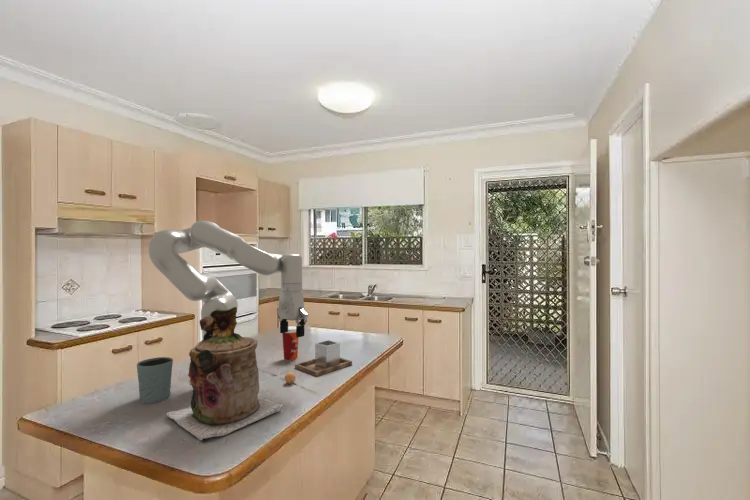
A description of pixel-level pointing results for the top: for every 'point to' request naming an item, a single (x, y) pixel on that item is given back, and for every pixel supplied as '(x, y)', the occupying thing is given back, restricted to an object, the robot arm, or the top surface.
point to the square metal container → (327, 354)
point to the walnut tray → (317, 371)
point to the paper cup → (290, 343)
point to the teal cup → (154, 379)
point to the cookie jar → (223, 381)
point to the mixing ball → (290, 377)
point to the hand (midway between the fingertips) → (292, 334)
